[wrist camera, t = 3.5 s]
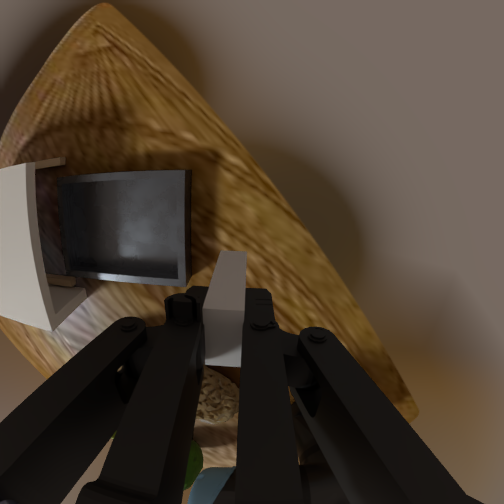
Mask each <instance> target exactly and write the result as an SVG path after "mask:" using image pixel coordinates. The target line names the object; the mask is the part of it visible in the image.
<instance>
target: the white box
mask: <svg viewBox="0 0 504 504" xmlns="http://www.w3.org/2000/svg"><path fill="white" fill-rule="evenodd" d="M65 159H66V157H58V158H52V159H47V160H41V161H36V162H30V163H23V164H19V165H15V166H10V167H6V168H3V169H0V315H1V316H4V317H6V318H9V319H12V320H15V321H18V322H21V323H24V324H27V325H30V326H34V327H37V328H40V329H44V330H47V331H51V332H53V331H54V330H55V329H56V328H57V327H58V326H59V325H60V324H61V323H62V322H63V321H64V320H65V319H66V318H67V317H68V316H69V315H70V314H71V313H72V312H73V311H74V310H75V309H76V308H77V307H78V306H79V305H80V304H81V303H82V302H83V301H84V300H85V299H87V295H86V290H85V288H81V287H74V285H75V284H76V279H75V277H71V276H63V275H55V274H48V273H45V268H44V263H43V257H42V251H41V244H40V237H39V229H38V220H37V208H36V191H35V169H41V168H47V167H53V166H60V165H65Z"/></svg>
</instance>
